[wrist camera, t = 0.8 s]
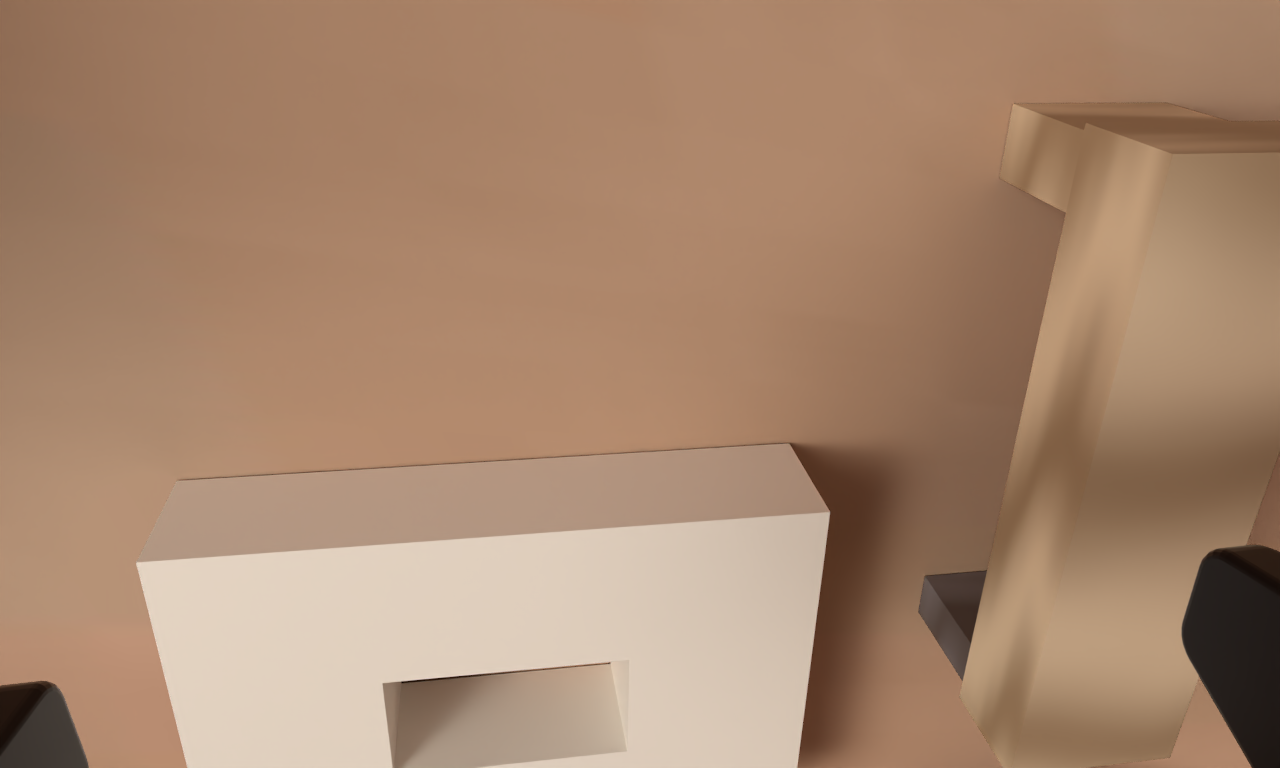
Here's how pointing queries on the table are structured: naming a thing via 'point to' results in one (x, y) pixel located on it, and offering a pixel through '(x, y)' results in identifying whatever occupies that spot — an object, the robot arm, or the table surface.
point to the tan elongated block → (1124, 430)
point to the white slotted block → (493, 612)
